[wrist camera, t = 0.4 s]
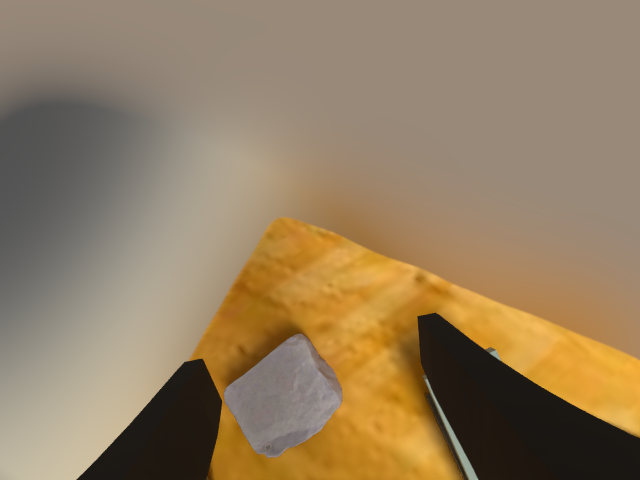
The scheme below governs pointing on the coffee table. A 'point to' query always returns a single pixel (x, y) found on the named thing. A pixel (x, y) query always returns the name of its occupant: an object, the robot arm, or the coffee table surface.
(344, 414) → the coffee table surface
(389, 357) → the coffee table surface
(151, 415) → the robot arm
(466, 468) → the plate
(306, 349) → the stone block
